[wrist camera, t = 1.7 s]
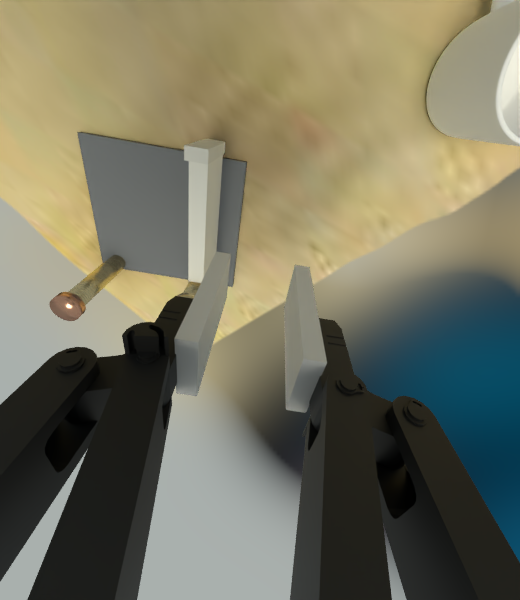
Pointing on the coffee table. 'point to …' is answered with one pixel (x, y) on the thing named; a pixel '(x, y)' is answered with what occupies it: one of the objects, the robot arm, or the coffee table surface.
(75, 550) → the robot arm
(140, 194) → the mat
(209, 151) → the beige piece
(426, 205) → the coffee table surface
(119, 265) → the brass capped rod
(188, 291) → the hinge post
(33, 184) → the coffee table surface
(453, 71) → the cup
